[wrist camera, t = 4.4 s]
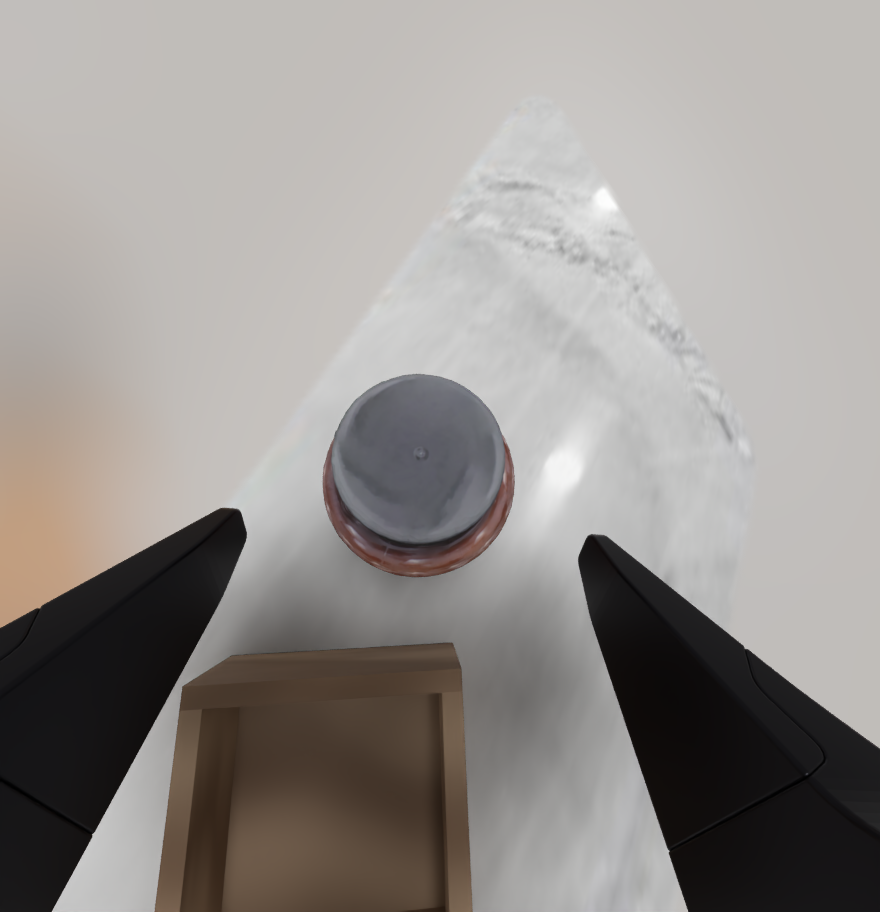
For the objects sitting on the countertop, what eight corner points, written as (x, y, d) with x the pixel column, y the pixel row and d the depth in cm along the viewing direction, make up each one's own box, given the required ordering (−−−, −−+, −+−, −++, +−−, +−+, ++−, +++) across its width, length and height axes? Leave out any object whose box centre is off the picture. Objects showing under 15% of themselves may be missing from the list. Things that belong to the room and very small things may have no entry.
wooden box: (463, 916, 15) (477, 1031, 11) (203, 945, 14) (134, 1079, 10) (452, 642, 17) (461, 668, 14) (231, 655, 16) (182, 686, 13)
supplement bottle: (483, 464, 19) (570, 365, 8) (462, 572, 18) (535, 626, 7) (380, 440, 19) (331, 310, 8) (351, 547, 18) (244, 561, 7)
